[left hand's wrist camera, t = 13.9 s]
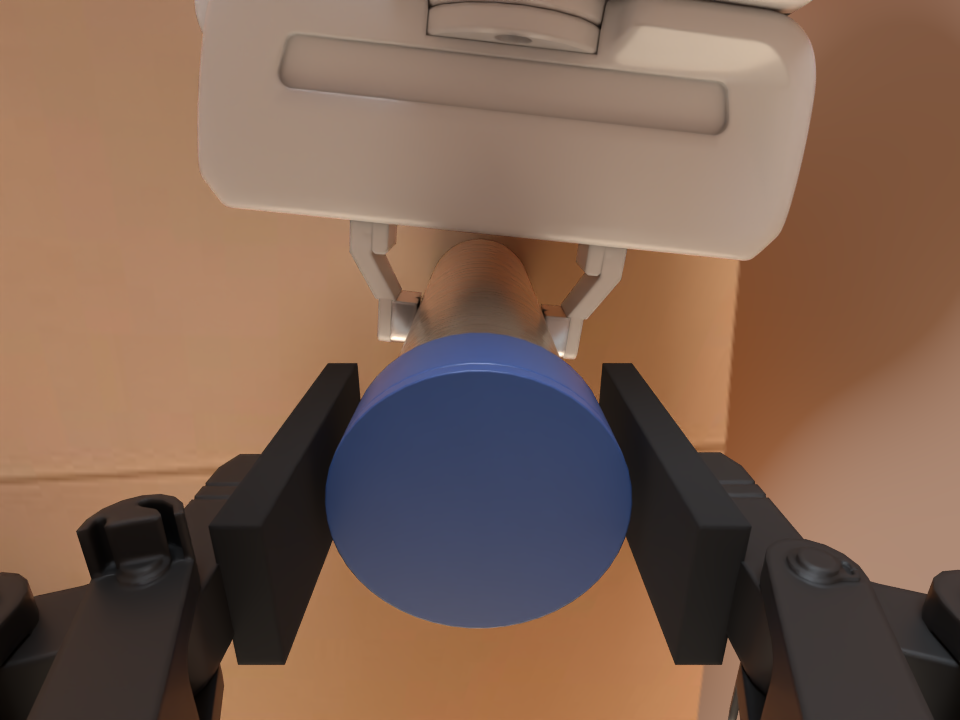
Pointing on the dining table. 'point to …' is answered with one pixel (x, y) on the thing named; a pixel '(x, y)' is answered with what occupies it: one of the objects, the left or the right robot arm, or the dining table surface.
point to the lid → (478, 484)
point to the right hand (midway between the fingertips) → (478, 346)
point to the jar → (479, 298)
